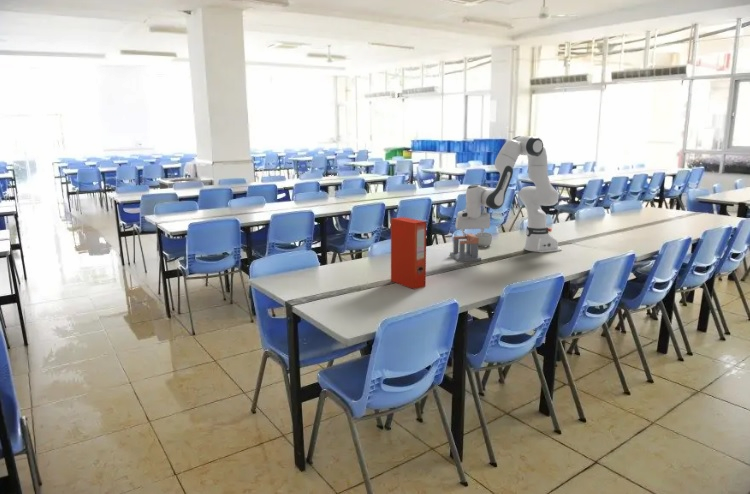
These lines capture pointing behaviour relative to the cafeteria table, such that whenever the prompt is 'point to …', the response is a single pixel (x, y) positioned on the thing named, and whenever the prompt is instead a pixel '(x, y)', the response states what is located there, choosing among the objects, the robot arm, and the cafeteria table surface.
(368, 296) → the cafeteria table surface
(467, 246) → the display stand
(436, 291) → the cafeteria table surface
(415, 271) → the file binder
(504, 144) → the robot arm
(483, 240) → the teacup
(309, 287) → the cafeteria table surface
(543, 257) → the cafeteria table surface
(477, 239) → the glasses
